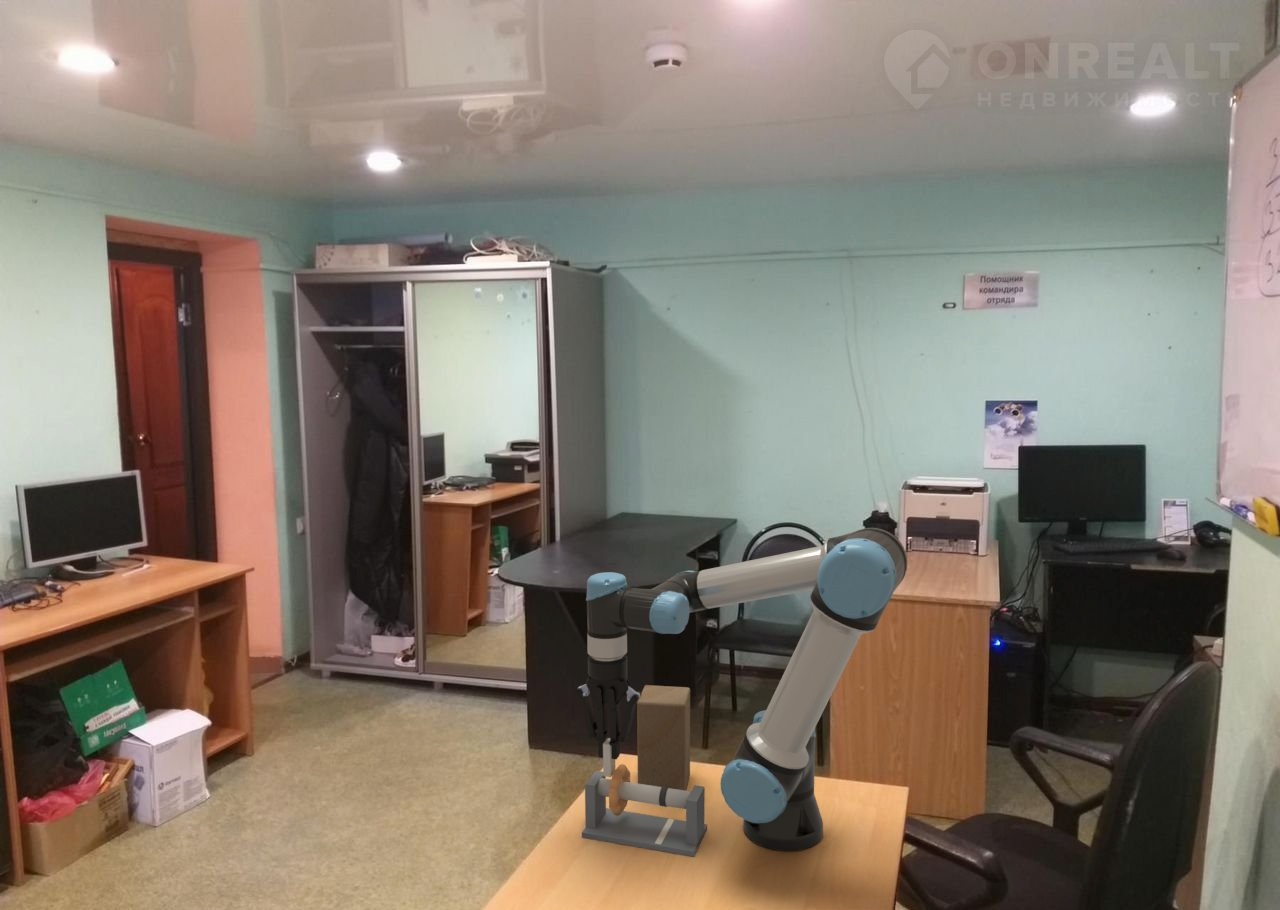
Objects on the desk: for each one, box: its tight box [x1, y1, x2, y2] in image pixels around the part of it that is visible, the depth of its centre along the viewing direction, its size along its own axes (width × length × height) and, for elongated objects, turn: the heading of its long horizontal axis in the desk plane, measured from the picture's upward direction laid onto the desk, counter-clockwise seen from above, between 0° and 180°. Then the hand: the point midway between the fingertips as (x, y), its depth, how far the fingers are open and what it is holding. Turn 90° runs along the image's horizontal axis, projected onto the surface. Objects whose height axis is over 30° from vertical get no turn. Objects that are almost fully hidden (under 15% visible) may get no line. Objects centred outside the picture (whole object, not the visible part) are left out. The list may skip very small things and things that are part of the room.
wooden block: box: [636, 684, 691, 791], centre depth 190 cm, size 10×10×20 cm
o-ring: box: [608, 763, 631, 816], centre depth 172 cm, size 2×9×9 cm, turn 162°
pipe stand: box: [581, 770, 708, 858], centre depth 171 cm, size 22×10×10 cm, turn 72°
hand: (609, 773), depth 173 cm, fingers closed
